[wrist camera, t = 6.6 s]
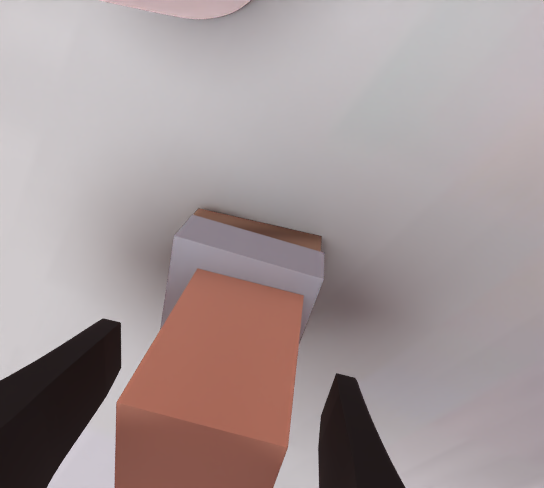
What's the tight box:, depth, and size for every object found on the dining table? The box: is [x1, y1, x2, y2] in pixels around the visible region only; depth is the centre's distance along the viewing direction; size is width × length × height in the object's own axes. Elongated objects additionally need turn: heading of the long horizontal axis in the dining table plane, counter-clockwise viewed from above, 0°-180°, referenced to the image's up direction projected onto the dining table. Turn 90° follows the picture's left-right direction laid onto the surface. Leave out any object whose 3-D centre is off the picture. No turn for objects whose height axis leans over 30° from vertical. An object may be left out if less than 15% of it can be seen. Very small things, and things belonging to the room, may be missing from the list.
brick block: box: [115, 268, 304, 488], centre depth 12 cm, size 4×4×6 cm
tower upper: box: [160, 215, 324, 343], centre depth 16 cm, size 6×6×2 cm
